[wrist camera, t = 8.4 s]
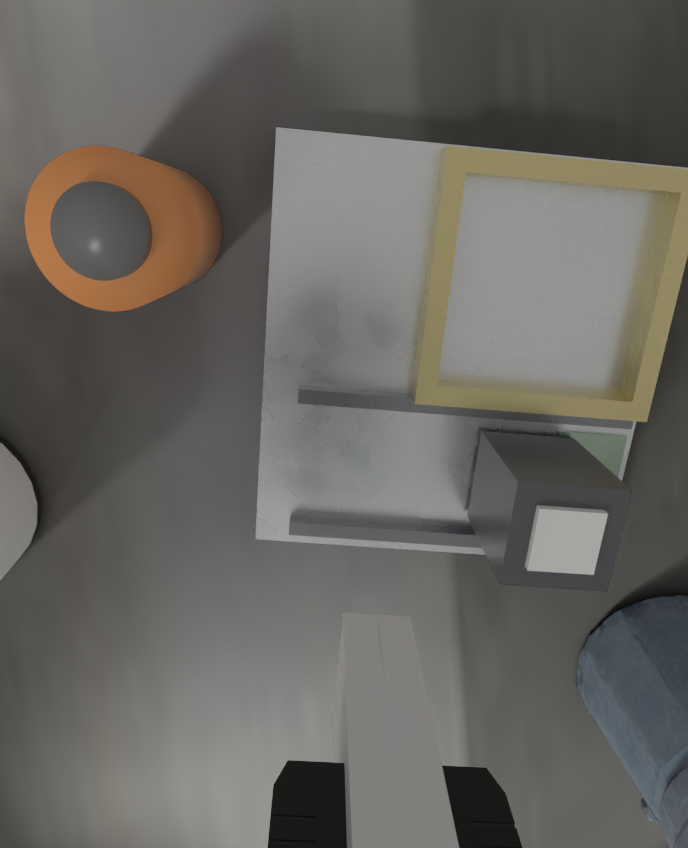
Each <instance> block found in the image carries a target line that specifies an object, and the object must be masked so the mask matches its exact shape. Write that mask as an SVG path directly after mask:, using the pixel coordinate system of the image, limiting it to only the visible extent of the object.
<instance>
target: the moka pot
mask: <svg viewBox="0 0 688 848" xmlns="http://www.w3.org/2000/svg"><path fill="white" fill-rule="evenodd" d="M576 684H577V690H578V694H579V695H580V697H581V699H582V700H583V702H584V704H585V705H586V707H587V709H588V710H589V712H590V713H591V715H592V717H593V718H594V720H595V721H596V723H597V724H598V726H599V727H600V729H601V730H602V732H603V734H604V735H605V737H606V739H607V740H608V742H609V743H610V745H611V747H612V748H613V750H614V751H615V753H616V755H617V756H618V758H619V759H620V761H621V763H622V764H623V766H624V767H625V769H626V771H627V772H628V774H629V775H630V777H631V778H632V780H633V781H634V783H635V785H636V786H637V788H638V790H639V791H640V794H641V796H642V798H641V808H642V810H643V811H644V813H645V814H646V816H647V817H648V818H649V820H651V821H653V822H660V824H661V828H662V832H663V834H664V837H665V839H666V841H667V844H668V846H669V848H688V596H680V595H667V596H660V597H655V598H651V599H648V600H644V601H641V602H638V603H634V604H632V605H630V606H628V607H624V608H623V609H621V610H619V611H617V612H615V613H614V614H612V615H611V616H610V617H609V618H607V619H606V620H605V621H604V622H603V623H602V625H601V626H599V627H598V628H597V629H596V630H595V631H594V632H593V633H592V634H591V635H590V636H588V639H587V641H586V643H585V644H584V647H583V649H582V651H581V652H580V655H579V662H578V667H577V675H576Z"/></svg>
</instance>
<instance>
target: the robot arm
mask: <svg viewBox="0 0 688 848" xmlns="http://www.w3.org/2000/svg"><path fill="white" fill-rule="evenodd" d="M333 745H334V763H330V762H308V761H287V763H286V765H285V766H284V768H283V770H282V772H281V773H280V775H279V777H278V779H277V780H276V782H275V784H274V787H273V798H272V808H271V820H270V829H269V840H268V848H522V845H521V842H520V839H519V835H518V832H517V829H515V826H514V819H513V816H512V813H511V810H510V807H509V803H508V800H507V797H506V794H505V792H504V791H503V790H502V788H501V787H500V786H499V784H498V783H497V782H496V780H495V779H494V778H493V776H492V775H491V774H490V772H489V771H488V770H487V768H477V767H455V766H442V763H441V759H440V754H439V749H438V744H437V739H436V735H435V730H434V725H433V720H432V716H431V711H430V706H429V701H428V697H427V692H426V687H425V682H424V678H423V673H422V668H421V663H420V659H419V654H418V649H417V644H416V640H415V635H414V630H413V625H412V621H411V616H394V615H377V614H360V613H343V617H342V628H341V638H340V648H339V658H338V669H337V679H336V689H335V699H334V710H333Z"/></svg>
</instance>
